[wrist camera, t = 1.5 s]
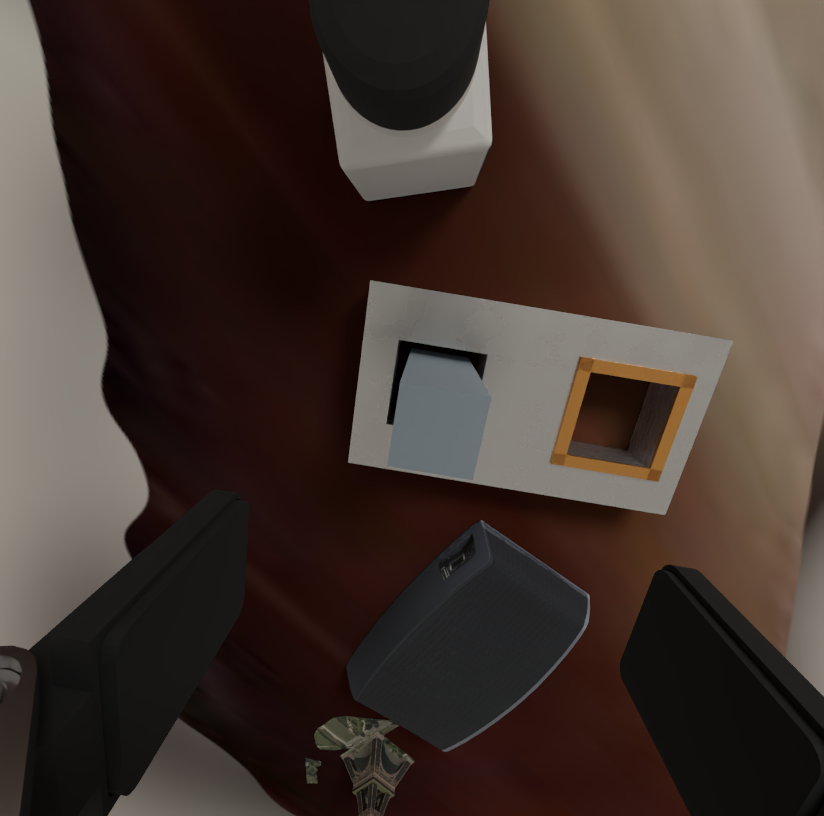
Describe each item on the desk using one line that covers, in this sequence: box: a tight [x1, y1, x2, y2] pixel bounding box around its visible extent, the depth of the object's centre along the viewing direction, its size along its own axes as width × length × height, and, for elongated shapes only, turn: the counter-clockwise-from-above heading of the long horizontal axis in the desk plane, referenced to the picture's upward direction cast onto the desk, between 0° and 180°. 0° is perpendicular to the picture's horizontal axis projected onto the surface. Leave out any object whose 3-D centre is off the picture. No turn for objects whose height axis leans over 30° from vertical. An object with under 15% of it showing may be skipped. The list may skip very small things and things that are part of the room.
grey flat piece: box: [348, 280, 733, 515], centre depth 27 cm, size 12×22×3 cm, turn 81°
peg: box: [387, 348, 491, 480], centre depth 23 cm, size 4×4×11 cm
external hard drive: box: [347, 520, 590, 752], centre depth 33 cm, size 13×19×4 cm
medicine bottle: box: [309, 0, 492, 201], centre depth 18 cm, size 7×7×12 cm
